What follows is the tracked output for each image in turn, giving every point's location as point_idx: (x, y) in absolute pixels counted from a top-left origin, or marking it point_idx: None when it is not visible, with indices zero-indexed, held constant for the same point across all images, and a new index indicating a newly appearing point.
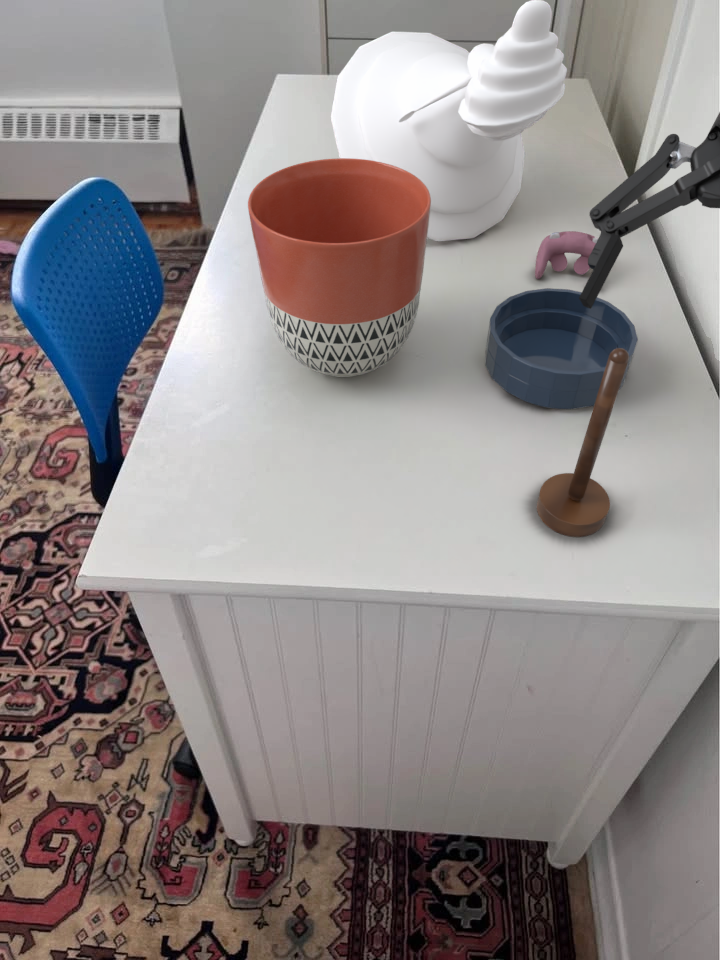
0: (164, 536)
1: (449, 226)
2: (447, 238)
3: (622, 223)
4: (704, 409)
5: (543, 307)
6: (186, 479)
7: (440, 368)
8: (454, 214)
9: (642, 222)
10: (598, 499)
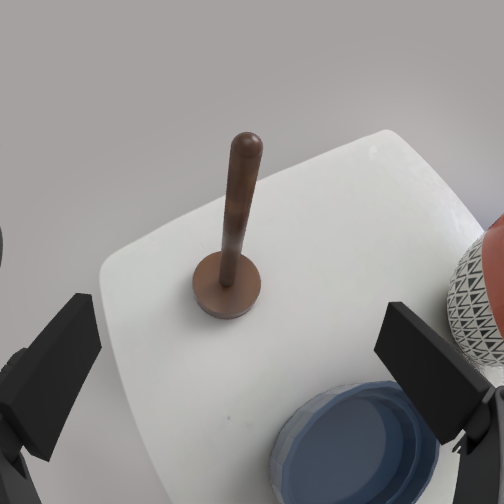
0: (392, 148)
1: None
2: None
3: (501, 414)
4: (178, 499)
5: (401, 494)
6: (420, 178)
7: None
8: None
9: (468, 483)
10: (207, 292)
